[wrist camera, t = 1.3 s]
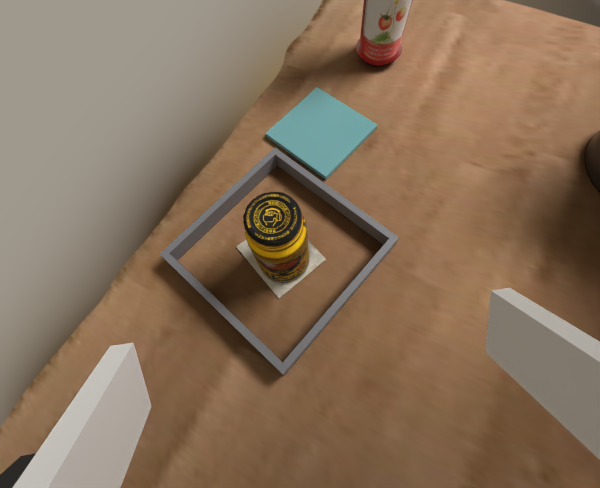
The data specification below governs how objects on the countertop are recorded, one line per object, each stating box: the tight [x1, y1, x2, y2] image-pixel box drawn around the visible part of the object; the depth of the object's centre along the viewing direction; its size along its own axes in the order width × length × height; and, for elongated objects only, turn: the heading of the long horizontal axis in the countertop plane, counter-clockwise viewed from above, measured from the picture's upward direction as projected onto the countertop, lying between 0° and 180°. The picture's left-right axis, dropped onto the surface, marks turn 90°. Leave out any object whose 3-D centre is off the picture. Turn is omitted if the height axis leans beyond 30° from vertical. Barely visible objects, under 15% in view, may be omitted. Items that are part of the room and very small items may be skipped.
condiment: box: [237, 192, 326, 298], centre depth 36 cm, size 7×8×12 cm
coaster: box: [266, 87, 377, 180], centre depth 48 cm, size 11×11×1 cm
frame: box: [160, 148, 399, 375], centre depth 40 cm, size 20×20×2 cm
